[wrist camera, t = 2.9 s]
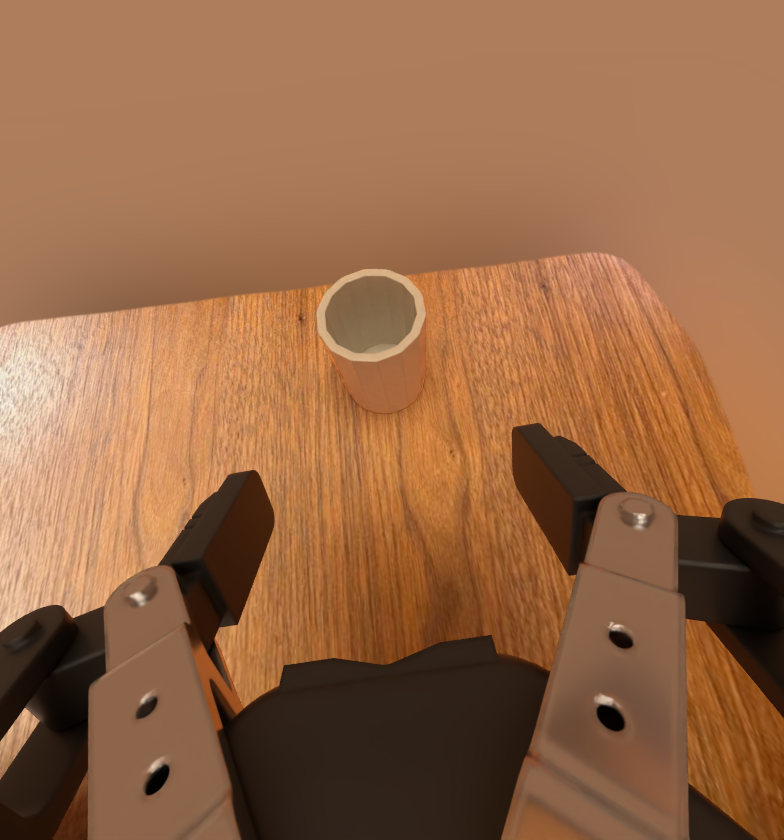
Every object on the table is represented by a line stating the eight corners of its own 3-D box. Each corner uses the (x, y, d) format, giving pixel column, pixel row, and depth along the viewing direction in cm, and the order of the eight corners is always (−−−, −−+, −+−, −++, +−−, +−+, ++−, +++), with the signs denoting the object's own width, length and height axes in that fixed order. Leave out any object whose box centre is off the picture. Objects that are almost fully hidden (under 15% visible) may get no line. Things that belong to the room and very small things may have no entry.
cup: (372, 330, 28) (353, 254, 21) (439, 362, 27) (445, 293, 20) (331, 391, 27) (294, 332, 20) (400, 428, 26) (389, 380, 18)
